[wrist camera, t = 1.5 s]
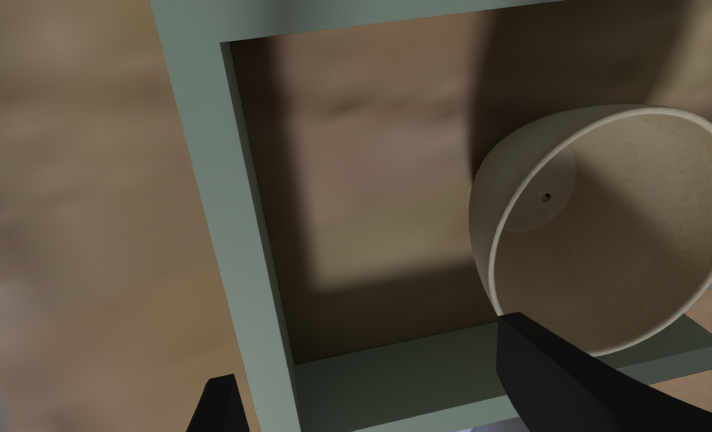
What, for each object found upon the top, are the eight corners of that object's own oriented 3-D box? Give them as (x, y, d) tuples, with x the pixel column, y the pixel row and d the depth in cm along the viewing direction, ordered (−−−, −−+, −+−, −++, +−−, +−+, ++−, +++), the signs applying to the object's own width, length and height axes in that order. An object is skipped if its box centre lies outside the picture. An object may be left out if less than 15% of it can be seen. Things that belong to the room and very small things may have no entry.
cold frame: (645, 310, 29) (717, 368, 25) (269, 394, 26) (272, 476, 22) (718, -69, 21) (848, -87, 16) (172, -11, 18) (146, -13, 13)
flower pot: (626, 59, 22) (777, 85, 16) (603, 248, 27) (715, 328, 20) (417, 93, 21) (490, 136, 15) (429, 286, 25) (489, 384, 19)
